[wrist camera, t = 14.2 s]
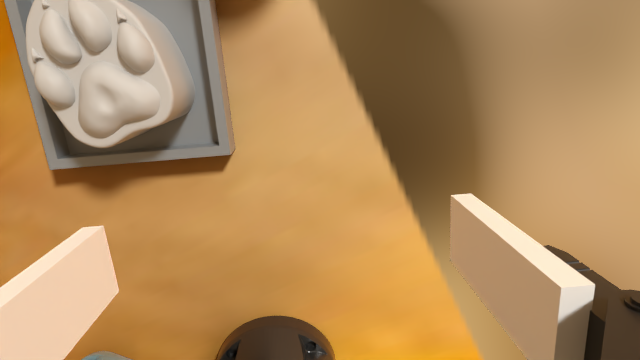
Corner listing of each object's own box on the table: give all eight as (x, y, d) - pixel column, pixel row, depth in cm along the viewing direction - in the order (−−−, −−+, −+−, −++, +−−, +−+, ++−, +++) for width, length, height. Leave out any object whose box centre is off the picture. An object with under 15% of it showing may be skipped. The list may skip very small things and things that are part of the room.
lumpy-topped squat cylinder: (117, 144, 41) (71, 164, 33) (46, 21, 38) (-26, 8, 30) (207, 105, 41) (183, 114, 32) (143, -24, 37) (97, -51, 29)
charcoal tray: (235, 148, 43) (230, 154, 40) (66, 162, 42) (49, 169, 40) (208, -47, 38) (201, -57, 35) (16, -34, 37) (-8, -43, 34)
